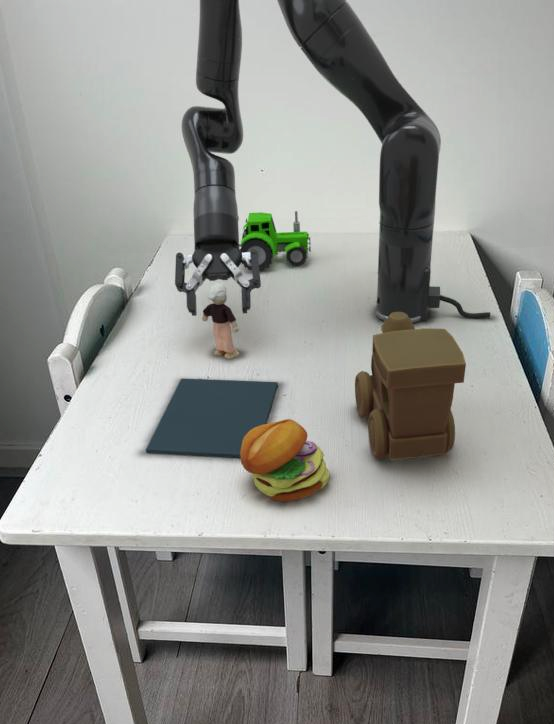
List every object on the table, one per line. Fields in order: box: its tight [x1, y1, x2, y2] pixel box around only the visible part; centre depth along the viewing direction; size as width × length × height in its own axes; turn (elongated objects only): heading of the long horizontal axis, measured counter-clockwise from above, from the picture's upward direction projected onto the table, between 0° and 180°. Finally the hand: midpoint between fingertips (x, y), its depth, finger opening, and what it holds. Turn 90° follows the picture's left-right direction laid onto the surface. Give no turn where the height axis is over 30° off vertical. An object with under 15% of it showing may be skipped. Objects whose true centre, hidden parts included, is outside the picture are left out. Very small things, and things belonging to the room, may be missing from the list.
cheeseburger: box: [240, 418, 330, 503], centre depth 97 cm, size 10×11×10 cm
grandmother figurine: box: [201, 282, 241, 360], centre depth 125 cm, size 8×4×13 cm, turn 65°
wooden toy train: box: [354, 312, 467, 461], centre depth 102 cm, size 20×11×17 cm, turn 6°
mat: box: [145, 378, 279, 459], centre depth 112 cm, size 16×20×1 cm
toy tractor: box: [239, 210, 312, 272], centre depth 157 cm, size 11×16×10 cm
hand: (219, 313), depth 124 cm, fingers open, 8 cm apart
